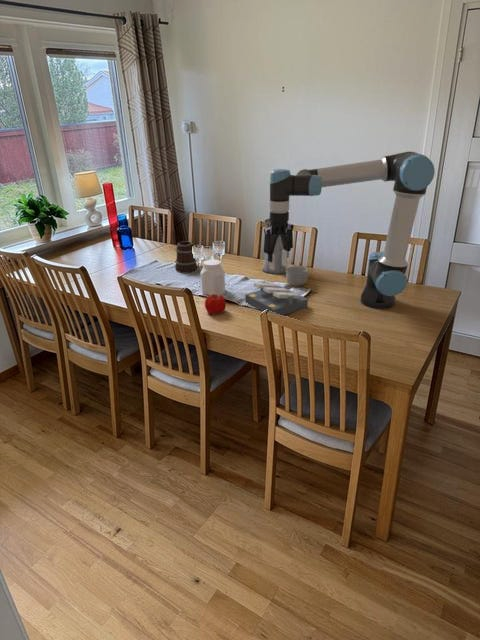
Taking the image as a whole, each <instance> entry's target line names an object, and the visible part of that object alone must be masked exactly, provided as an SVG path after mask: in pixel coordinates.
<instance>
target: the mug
mask: <svg viewBox="0 0 480 640" xmlns="http://www.w3.org/2000/svg"><path fill="white" fill-rule="evenodd" d="M194 245H195V244H194V243H193V242H192V241H188V240H184V241H183V240H182V241H179V242H178V243H177V244H176V248H175V249H174V250H175V252H176V259H175V261H174V262H175V266H174V268H175V269H176V270H177V271H176V272H178V271H180V272H179V273H182V272H188V273H193V272H197V270H198V264H197V259H196V258H195V259H196V260H195V259H194V258H193V254H192V246H194ZM192 271H193V272H192Z"/></svg>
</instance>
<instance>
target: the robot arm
mask: <svg viewBox="0 0 480 640" xmlns="http://www.w3.org/2000/svg"><path fill="white" fill-rule="evenodd" d="M435 171H436V170H435V165H434V163H433V161H432V160H431V159H430V158H429V157H427V156H426V155H425V154H422V153H418V152H416V151H403V152H399V153H396V154H391V155H383V156H382V157H381V158H380V159H375V160H369V161H361V162H355V163H354V162H353V163H348V164H341V165H335V166H334V165H333V166H327V167H320V168H313V169H307V168H305V169H300V170H299V171H297V173H296V175H295V174H294V175H292V174H291V171H290V169H286V168H285V169H283V168H277V169H273V170H272V171H270V176H269V179H270V180H269V218H270V222H271V224H270V227H269V228H267V229H266V227H265V228H264V229H263V233H264V239H263V241H264V242H263V253H265V254H266V253H267V254H268V261H269V269H272V270H275V254H273V252H274V248H275V244H276V241H277V238H278V236H279V235H280V236H281V240H282V244H283V248H284V250H282V265H283V266H285V267H286V268H288V258H289V254H290V253H289V252H291V250H292V249H293V248H294V241H293V240H294V231H293V230H294V224H292V223H289V219H290V218H289V217H290V212H289V210H290V197H291V196H294V197H296V196H297V197H301V196H303V197H304V196H305V197H307V196H308V197H309V196H310V197H314V196H321V194H322V188H327V187H334V186H335V187H336V186H343V185H350V184H356V183H357V184H358V183H364V182H366V183H367V182H372V181H383V182H384V183H385V182H394V184H393V188H392V191H393V192H394V195H395V199H394V203H393V208H392V213H391V217H390V222H389V227H388V232H387V236H386V241H385V245H384V249H383V251H375V252H372V253H370V254H369V258H368V264H367V265H368V267H367V275H366V284H365V287H364V289H363V291H362V293H361V294H360V303H361V305H364V306H365V307H368V308H372V309H379V310H382V309H391V308H394V306H395V305H396V296H397V295H400V293H403V291H405V289H406V288H407V286H408V280H407V279H408V278H407V275H406V274H407V270H408V266H409V262H408V261H407V259H406V258H407V253H408V248H409V244H410V241H411V236H412V233H413V228H414V225H415V220H416V216H417V212H418V208H419V203H420V201H421V200H420V199H421V198H422V197H424V196H425V195H426V193H427V189H428V186H429V185H430V184H431V183H432V181H433V180H434V177H435ZM271 231H272V232H271Z"/></svg>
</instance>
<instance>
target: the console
mask: <svg viewBox="0 0 480 640" xmlns="http://www.w3.org/2000/svg"><path fill="white" fill-rule="evenodd" d="M262 283H266V282H265V281H264V282H262ZM271 287H273V286H271ZM273 288H274V287H273ZM279 288H284V287H283V286H281V285H279ZM288 290H289V292H290V293H295V292H294V291H292V290H290V289H288ZM280 292H284V291H280ZM244 298H245V303H246V304H247V303H248V304H247V305H249V304H250V306H251V307H254V309H257V310H259V311H260V312H262V311H264V310H266V309H268V310H270V311H272V312H276V313H278V314H282V315H283V316H284V315H285V316H286V315H288V314H291V313H295V312H297V311H300V310H304V309H306V308H308V306H309V305H308V304H309V298H308V297H304V296H302V295H300V297H299V298H293V296H289V298H277V297H275V296H273V293H267V292H265V291H263V288H260V289H259V290H255V291H253V292H252V291H251V292H250V293H249V292H248V293H246V294H244Z"/></svg>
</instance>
